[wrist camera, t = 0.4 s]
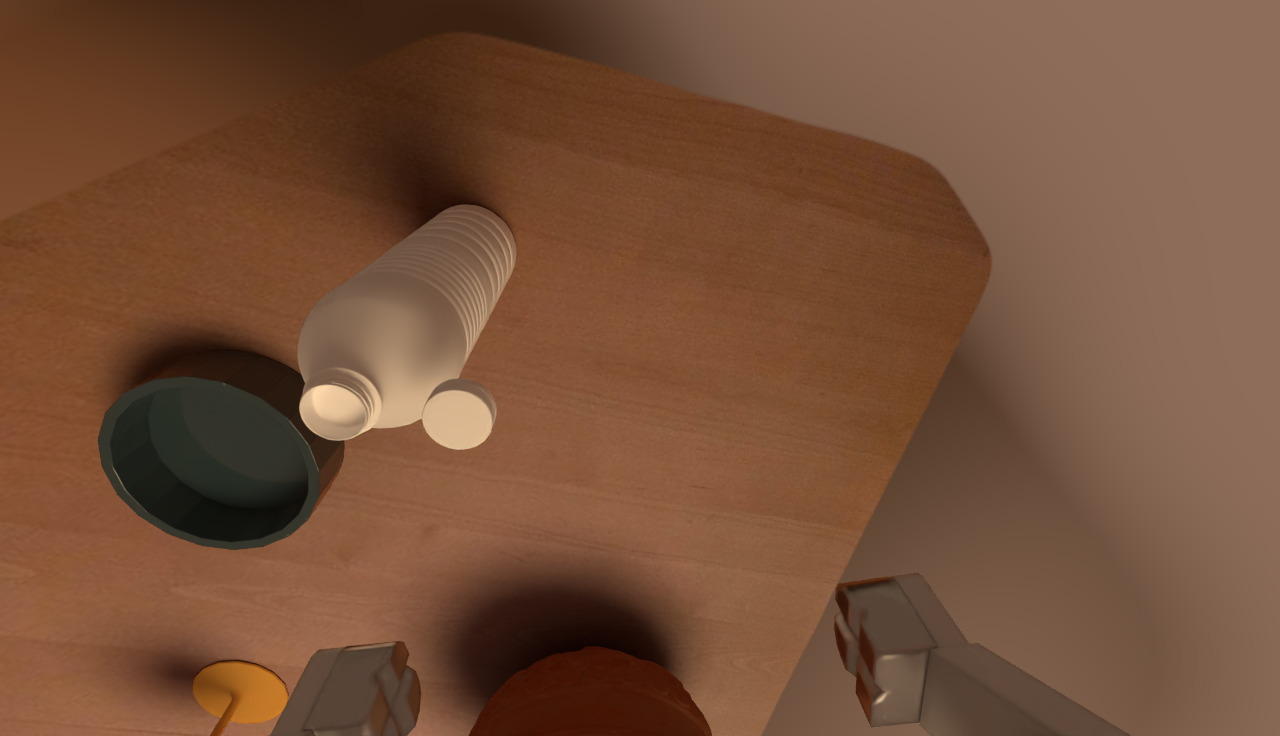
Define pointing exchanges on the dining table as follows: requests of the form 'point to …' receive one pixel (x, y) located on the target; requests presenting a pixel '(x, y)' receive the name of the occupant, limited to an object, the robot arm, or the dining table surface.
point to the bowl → (591, 699)
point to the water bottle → (409, 334)
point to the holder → (218, 451)
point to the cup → (239, 693)
